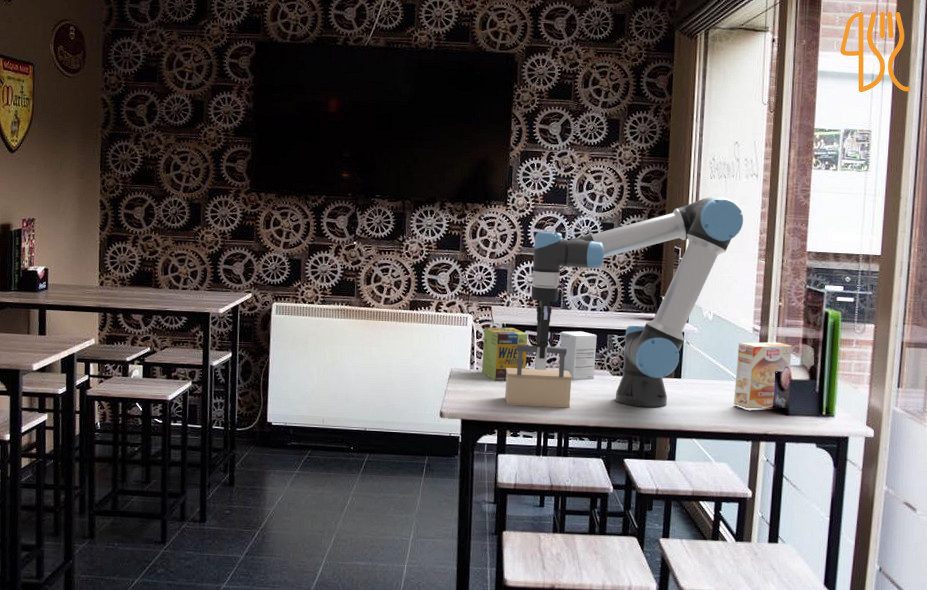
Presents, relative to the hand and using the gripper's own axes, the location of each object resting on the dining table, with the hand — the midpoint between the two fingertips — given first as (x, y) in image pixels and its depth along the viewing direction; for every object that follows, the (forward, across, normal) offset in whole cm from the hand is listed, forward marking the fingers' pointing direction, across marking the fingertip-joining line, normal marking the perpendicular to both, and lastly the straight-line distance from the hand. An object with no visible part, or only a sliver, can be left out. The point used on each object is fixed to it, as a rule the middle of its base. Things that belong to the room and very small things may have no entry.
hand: (540, 368), depth 280 cm
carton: (+11, -6, 0) cm, 12 cm away
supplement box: (+11, -52, +17) cm, 55 cm away
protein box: (+11, -46, -8) cm, 48 cm away
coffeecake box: (+11, -14, +68) cm, 70 cm away
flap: (+3, -5, 0) cm, 6 cm away
